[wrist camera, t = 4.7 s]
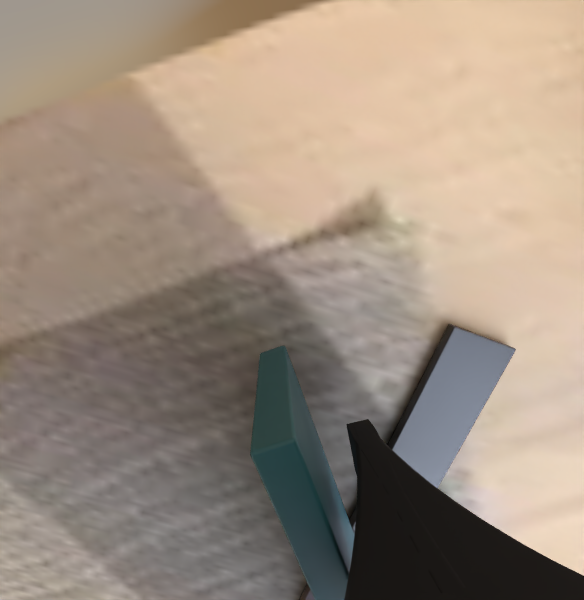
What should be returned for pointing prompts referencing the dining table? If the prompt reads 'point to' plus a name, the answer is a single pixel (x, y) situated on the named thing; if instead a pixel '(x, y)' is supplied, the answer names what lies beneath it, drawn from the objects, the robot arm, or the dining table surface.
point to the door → (300, 478)
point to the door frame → (446, 404)
